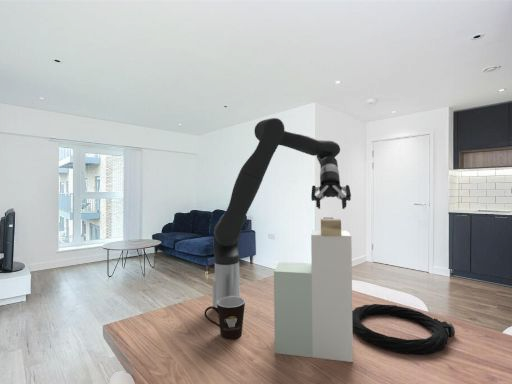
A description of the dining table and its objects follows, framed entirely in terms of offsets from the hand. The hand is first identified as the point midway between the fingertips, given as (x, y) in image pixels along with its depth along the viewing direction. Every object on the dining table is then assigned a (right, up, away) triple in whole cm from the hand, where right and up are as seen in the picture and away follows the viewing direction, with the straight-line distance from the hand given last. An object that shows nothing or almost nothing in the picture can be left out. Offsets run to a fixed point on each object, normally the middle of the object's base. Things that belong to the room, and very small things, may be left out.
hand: (331, 207), depth 100 cm
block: (-6, -6, -19) cm, 21 cm away
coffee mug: (-36, -38, -15) cm, 55 cm away
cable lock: (+17, -38, -14) cm, 44 cm away
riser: (-11, -38, -23) cm, 46 cm away
